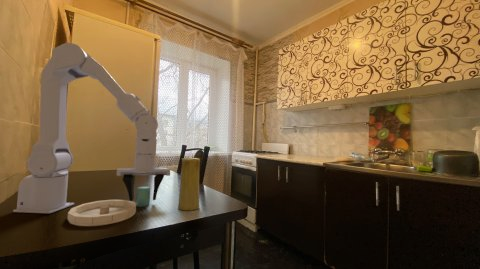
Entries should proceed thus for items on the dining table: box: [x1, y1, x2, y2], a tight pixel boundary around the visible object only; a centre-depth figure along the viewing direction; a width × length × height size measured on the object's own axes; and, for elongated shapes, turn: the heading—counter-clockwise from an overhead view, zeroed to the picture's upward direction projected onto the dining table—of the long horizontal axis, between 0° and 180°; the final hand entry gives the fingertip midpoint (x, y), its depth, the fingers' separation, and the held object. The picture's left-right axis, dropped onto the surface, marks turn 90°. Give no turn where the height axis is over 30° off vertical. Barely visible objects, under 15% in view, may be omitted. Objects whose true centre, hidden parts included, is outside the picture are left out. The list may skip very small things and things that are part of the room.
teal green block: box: [135, 186, 151, 208], centre depth 63 cm, size 4×4×5 cm
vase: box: [177, 157, 201, 212], centre depth 62 cm, size 6×6×14 cm
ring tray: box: [67, 199, 137, 227], centre depth 53 cm, size 14×14×2 cm
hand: (143, 199), depth 63 cm, fingers open, 6 cm apart
